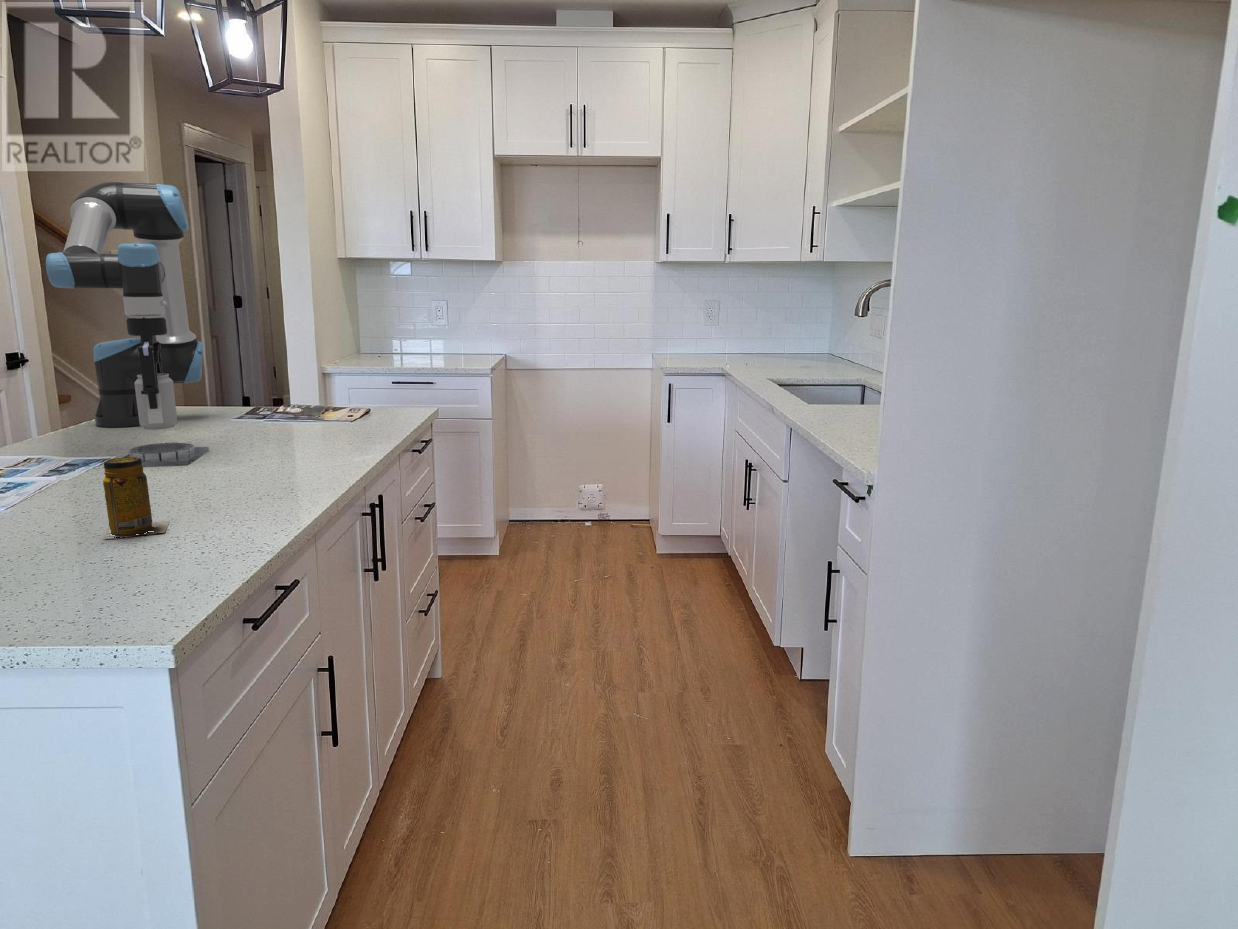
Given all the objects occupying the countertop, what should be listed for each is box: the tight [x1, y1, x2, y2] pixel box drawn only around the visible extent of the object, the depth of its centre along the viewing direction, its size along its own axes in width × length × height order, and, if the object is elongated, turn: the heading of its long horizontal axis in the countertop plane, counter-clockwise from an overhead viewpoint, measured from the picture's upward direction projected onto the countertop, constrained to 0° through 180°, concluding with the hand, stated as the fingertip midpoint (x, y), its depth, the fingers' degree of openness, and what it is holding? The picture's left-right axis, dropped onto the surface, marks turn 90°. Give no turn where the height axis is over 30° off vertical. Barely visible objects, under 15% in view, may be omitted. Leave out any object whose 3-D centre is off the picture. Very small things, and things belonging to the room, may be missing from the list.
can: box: [134, 373, 179, 430], centre depth 179 cm, size 8×8×12 cm
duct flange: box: [124, 441, 210, 467], centre depth 182 cm, size 15×15×2 cm
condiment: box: [102, 456, 170, 540], centre depth 130 cm, size 7×8×12 cm
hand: (158, 419), depth 180 cm, fingers closed on can, 7 cm apart
